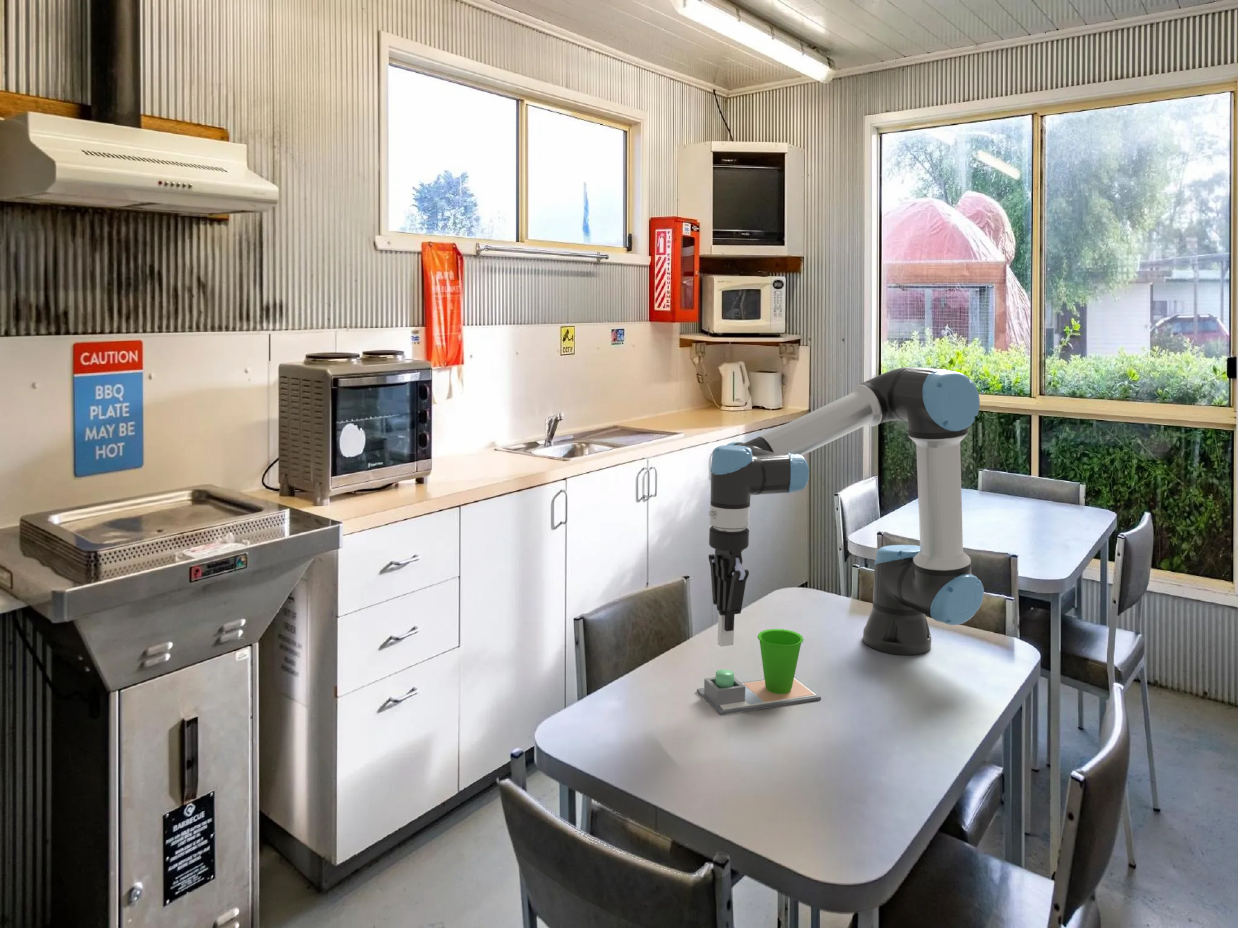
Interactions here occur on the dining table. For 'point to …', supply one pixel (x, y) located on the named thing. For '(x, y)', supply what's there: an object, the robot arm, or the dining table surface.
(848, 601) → the dining table surface
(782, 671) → the cup
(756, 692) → the grey holder tray
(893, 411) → the robot arm
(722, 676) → the button
